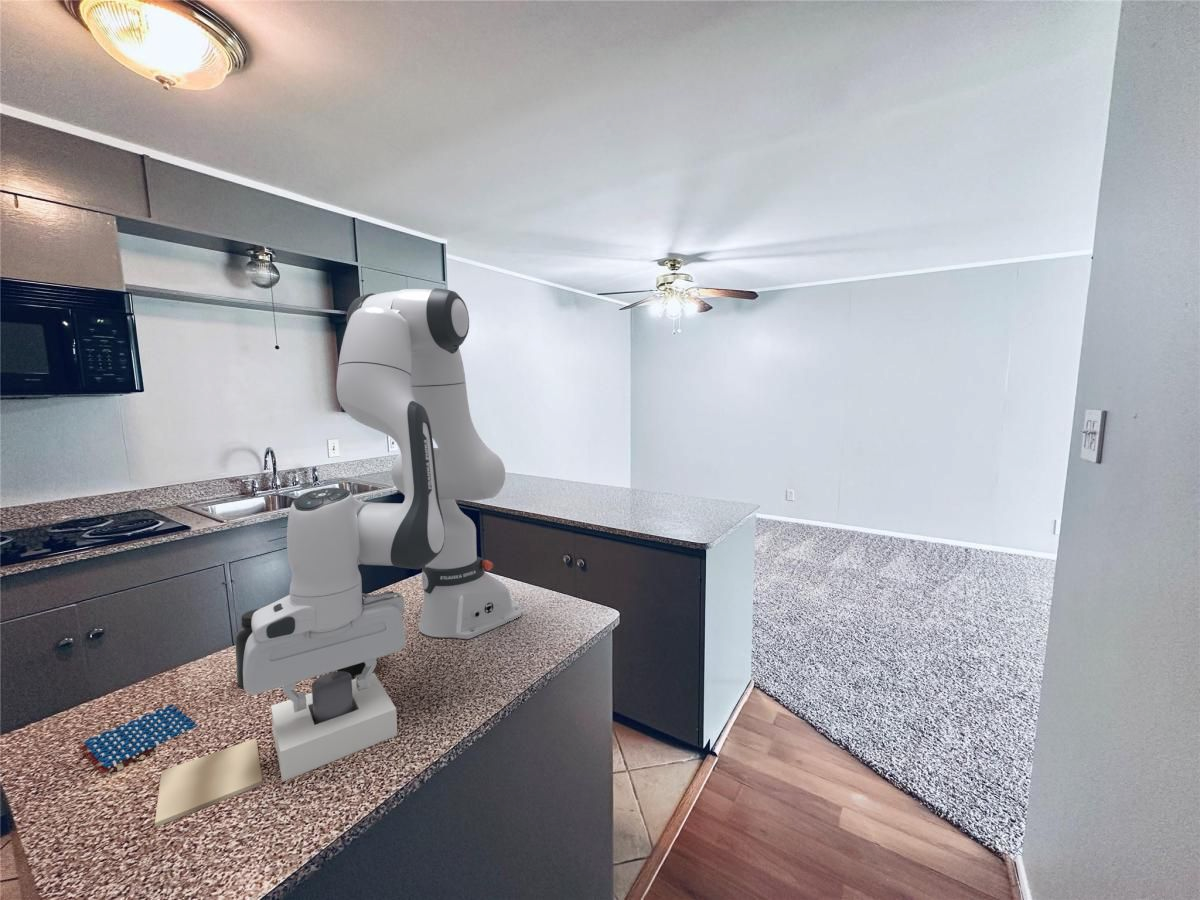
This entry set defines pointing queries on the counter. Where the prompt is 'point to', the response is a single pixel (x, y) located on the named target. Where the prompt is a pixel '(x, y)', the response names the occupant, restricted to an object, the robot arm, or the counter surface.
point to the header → (331, 730)
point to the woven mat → (134, 739)
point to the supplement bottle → (243, 643)
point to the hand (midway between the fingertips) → (332, 697)
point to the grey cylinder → (332, 696)
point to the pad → (207, 781)
